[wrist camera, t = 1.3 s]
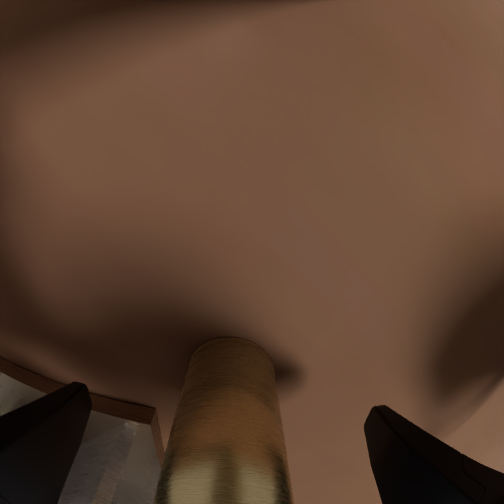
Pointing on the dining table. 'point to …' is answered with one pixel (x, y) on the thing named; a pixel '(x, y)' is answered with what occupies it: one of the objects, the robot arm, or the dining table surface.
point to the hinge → (99, 443)
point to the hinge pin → (227, 431)
